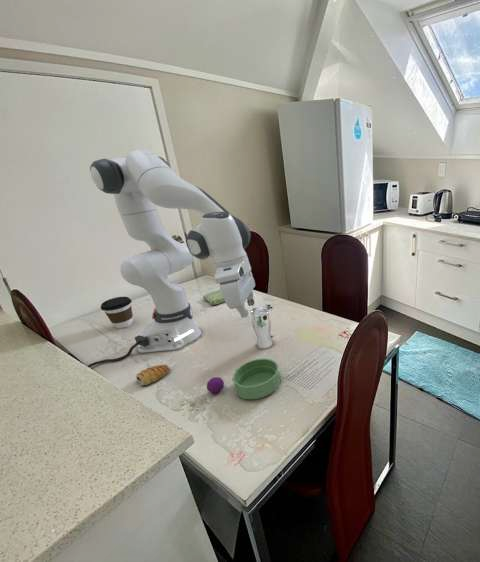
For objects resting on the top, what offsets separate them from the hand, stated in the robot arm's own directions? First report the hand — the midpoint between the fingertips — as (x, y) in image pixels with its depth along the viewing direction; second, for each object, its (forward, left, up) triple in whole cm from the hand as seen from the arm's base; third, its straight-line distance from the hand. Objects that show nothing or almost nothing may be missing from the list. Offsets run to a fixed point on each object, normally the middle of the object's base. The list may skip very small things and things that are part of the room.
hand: (248, 310), depth 95 cm
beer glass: (+2, +23, -28) cm, 36 cm away
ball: (-14, +1, -28) cm, 31 cm away
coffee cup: (-58, +62, -28) cm, 90 cm away
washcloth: (-18, +76, -28) cm, 83 cm away
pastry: (-36, +16, -28) cm, 49 cm away
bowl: (-1, -1, -28) cm, 28 cm away
